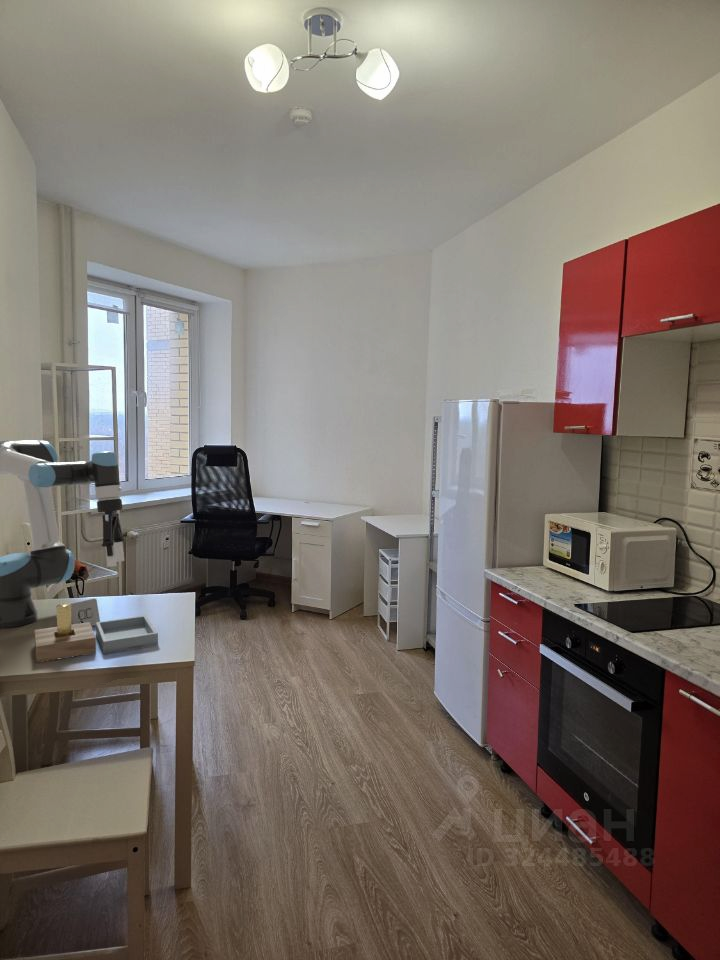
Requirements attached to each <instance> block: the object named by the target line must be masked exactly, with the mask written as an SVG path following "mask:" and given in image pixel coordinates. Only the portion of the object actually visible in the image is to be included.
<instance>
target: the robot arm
mask: <svg viewBox="0 0 720 960" xmlns="http://www.w3.org/2000/svg"><path fill="white" fill-rule="evenodd" d="M58 458H59V457H58V454H57V451H56V449H55V447H54V446H53V445H52V443H51V442H48V441H47V440H39V439H38V440H37V439H33V440H32V439H31V440H30V439H28V440H1V441H0V474H2V475H7V474H11V475H13V476H16V477H17V478H18V480H20V481H22V483H23V486H24V492H25V498H26V504H27V511H28V517H29V523H30V530H31V535H32V536H31V537H32V542H33V547H32V548H31V549H30V550H29V552H30V554H29V553H27V552H17V553H15V552H14V553H10V554H9V553H8V554H6V555H3V556H0V629H7V628H16V627H21V626H25V625H28V624H31V623H33V622H35V621H37V620H38V618H39V616H38V610H37V607H36V605H35V603H34V600H33V598H32V589H36V588H39V587H41V588H42V587H45V586H50V585H56V584H60V583H63V582H66V581H68V580H69V579H71V577H72V576H73V573H74V571H75V563H76V562H75V557H74V554H73V552H72V551H71V550H69V549H66V545H65V544H64V543H62V542H61V541H60V535H59V529H58V521H57V517H56V510H55V505H54V499H53V498H54V497H53V493H52V487H59V486H73V485H74V486H77V485H91V484H94V490H95V499H96V500H97V501H96V508H97V512H98V513H104V514H103V515H102V516H101V517H102V544H101V547H102V548H103V547H104V549H105V559H106V567H107V568H111V567H117V566H118V564H117V563H119V562H124V561H125V553H124V544H123V542H125V541H126V540H125V539H126V538H124V536H123V535H124V534H123V532H122V526H121V521H120V514H119V512H117V511H122V510H123V502H122V498H121V497H122V494H121V492H122V491H123V488H122V487H121V485H120V474H119V473H120V472H119V470H120V469H119V462H118V457H117V454H116V452H114V451H100V452H99V451H98V452H94V453H92V455H91V460H87V461H65V462H59V459H58Z"/></svg>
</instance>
